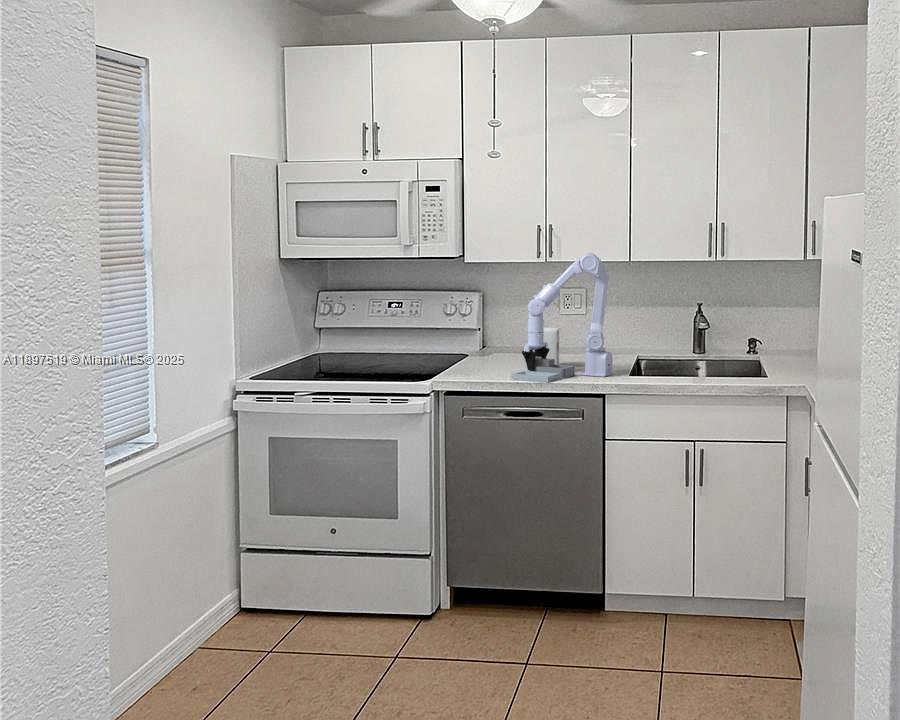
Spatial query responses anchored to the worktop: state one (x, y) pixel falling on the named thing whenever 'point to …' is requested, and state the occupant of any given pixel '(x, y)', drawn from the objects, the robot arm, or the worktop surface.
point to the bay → (558, 370)
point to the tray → (535, 376)
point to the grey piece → (552, 343)
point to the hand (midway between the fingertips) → (535, 369)
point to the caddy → (544, 362)
